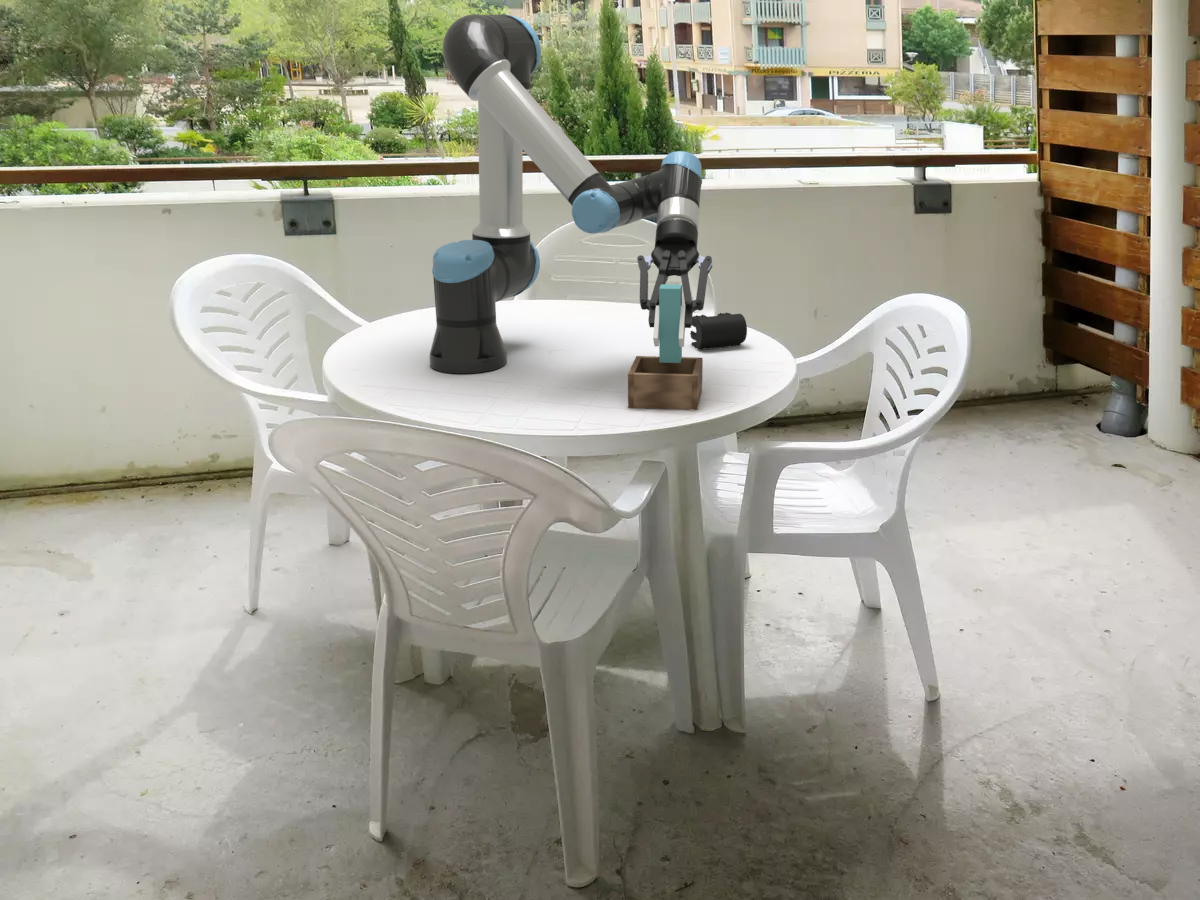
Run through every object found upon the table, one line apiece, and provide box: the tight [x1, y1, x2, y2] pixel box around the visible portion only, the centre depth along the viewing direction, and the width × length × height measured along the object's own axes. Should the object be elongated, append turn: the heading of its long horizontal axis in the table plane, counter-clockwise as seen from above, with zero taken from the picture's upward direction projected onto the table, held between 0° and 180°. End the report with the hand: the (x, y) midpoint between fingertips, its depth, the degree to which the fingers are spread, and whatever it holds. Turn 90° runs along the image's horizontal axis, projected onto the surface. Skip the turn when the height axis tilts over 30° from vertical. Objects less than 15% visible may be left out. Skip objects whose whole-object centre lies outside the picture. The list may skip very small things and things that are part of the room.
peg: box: [658, 283, 683, 363], centre depth 203 cm, size 4×4×13 cm
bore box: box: [627, 355, 704, 411], centre depth 206 cm, size 12×12×6 cm
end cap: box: [689, 311, 748, 351], centre depth 240 cm, size 10×7×7 cm
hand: (668, 342), depth 200 cm, fingers closed on peg, 4 cm apart
